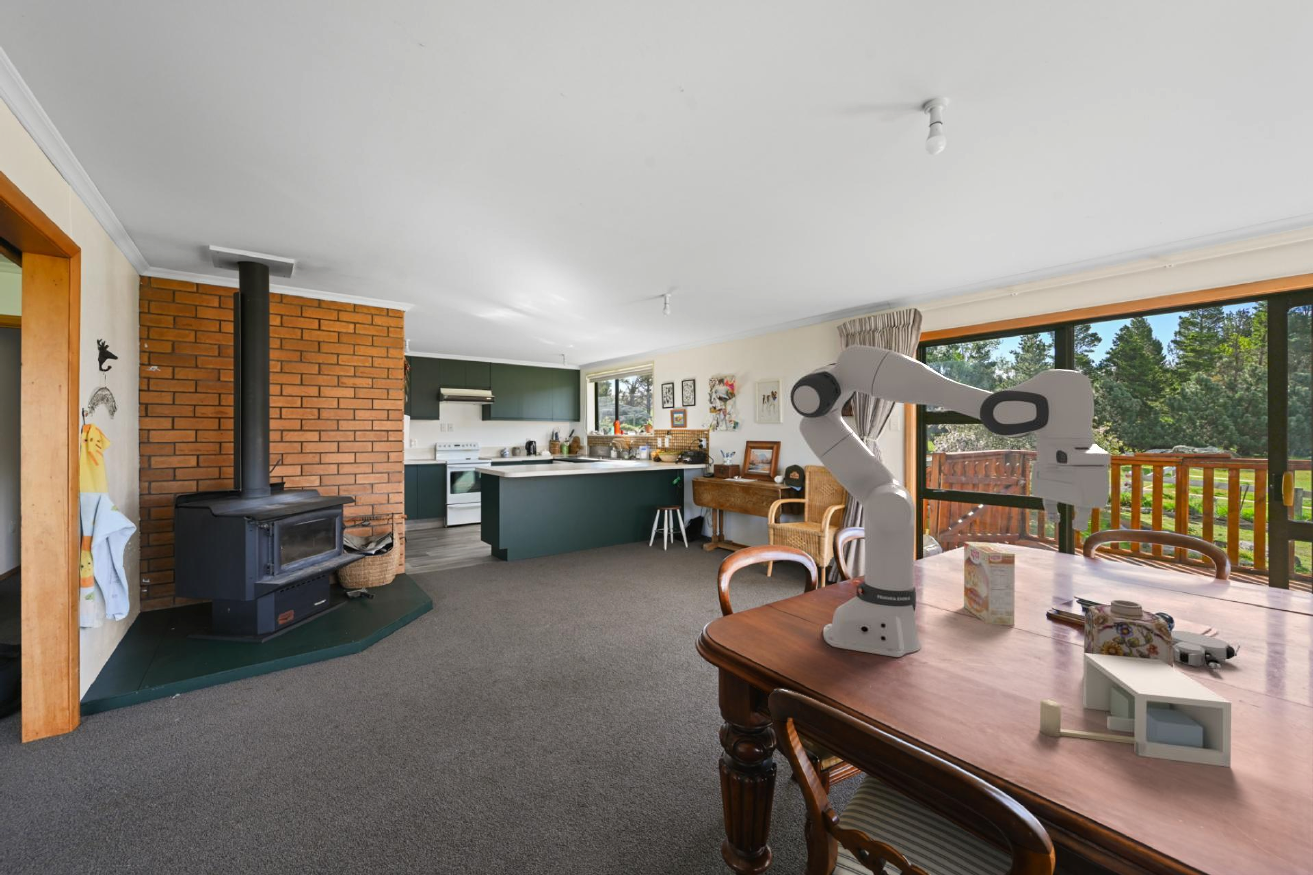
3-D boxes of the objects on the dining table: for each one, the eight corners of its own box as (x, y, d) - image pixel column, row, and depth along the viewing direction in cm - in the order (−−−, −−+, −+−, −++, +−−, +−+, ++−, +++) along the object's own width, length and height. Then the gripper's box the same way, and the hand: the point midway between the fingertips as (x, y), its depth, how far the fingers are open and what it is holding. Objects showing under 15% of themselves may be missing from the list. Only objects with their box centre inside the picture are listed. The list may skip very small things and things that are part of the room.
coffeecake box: (962, 606, 157) (963, 541, 157) (988, 607, 156) (989, 542, 156) (987, 624, 142) (987, 552, 142) (1015, 626, 141) (1016, 553, 141)
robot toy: (1223, 682, 112) (1241, 660, 119) (1222, 661, 111) (1241, 641, 119) (1146, 661, 122) (1168, 642, 130) (1146, 641, 122) (1168, 624, 130)
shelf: (1138, 755, 84) (1138, 693, 84) (1083, 705, 100) (1083, 652, 100) (1230, 766, 82) (1231, 702, 81) (1158, 713, 97) (1159, 659, 97)
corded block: (1047, 739, 89) (1048, 709, 89) (1034, 723, 94) (1034, 695, 94) (1202, 758, 84) (1202, 726, 84) (1179, 740, 89) (1179, 710, 89)
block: (1127, 728, 92) (1128, 699, 92) (1110, 713, 97) (1110, 686, 97) (1168, 732, 91) (1169, 704, 91) (1149, 717, 96) (1149, 690, 96)
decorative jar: (1174, 714, 97) (1175, 616, 97) (1092, 697, 103) (1093, 605, 103) (1156, 687, 107) (1157, 599, 107) (1083, 673, 113) (1083, 590, 113)
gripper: (1021, 452, 112) (1022, 517, 112) (1075, 455, 92) (1076, 535, 92) (1055, 452, 111) (1056, 518, 110) (1117, 455, 91) (1118, 536, 91)
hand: (1066, 525), depth 101 cm, fingers open, 8 cm apart
